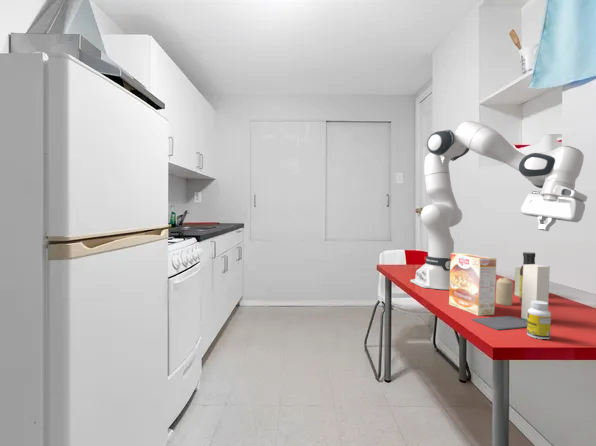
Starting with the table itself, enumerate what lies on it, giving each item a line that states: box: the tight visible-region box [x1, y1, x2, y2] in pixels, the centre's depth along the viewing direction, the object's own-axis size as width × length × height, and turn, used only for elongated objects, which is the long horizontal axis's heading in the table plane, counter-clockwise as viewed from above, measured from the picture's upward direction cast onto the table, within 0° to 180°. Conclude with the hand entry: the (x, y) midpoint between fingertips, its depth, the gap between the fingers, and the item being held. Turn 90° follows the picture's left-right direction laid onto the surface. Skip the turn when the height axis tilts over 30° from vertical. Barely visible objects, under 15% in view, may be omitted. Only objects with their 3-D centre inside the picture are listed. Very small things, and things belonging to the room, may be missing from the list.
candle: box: [495, 277, 514, 306], centre depth 135 cm, size 6×6×10 cm
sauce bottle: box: [518, 251, 536, 304], centre depth 137 cm, size 6×6×20 cm
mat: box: [471, 315, 527, 331], centre depth 110 cm, size 10×16×1 cm, turn 106°
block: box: [520, 263, 551, 321], centre depth 113 cm, size 5×5×18 cm
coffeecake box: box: [448, 252, 497, 317], centre depth 125 cm, size 15×7×20 cm, turn 14°
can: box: [513, 267, 521, 297], centre depth 150 cm, size 9×9×12 cm
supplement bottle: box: [526, 300, 552, 340], centre depth 98 cm, size 5×5×10 cm
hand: (542, 230), depth 123 cm, fingers closed
